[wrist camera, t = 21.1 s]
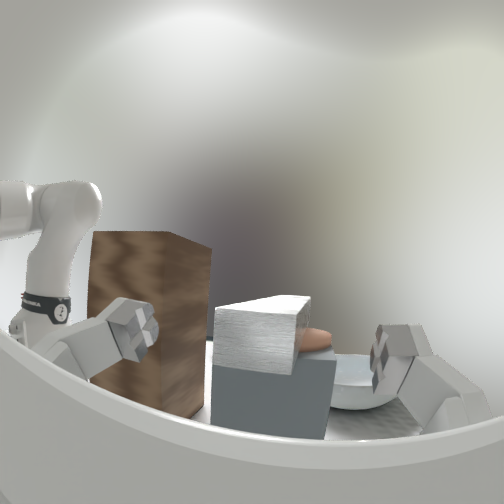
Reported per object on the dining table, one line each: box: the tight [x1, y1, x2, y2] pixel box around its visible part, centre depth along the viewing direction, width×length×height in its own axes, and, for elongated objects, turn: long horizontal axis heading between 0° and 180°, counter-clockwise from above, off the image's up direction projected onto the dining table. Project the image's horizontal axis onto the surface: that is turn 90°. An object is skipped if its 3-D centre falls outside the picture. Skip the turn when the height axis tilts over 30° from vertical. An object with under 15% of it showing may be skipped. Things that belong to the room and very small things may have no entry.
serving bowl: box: [330, 355, 397, 410], centre depth 43 cm, size 21×21×7 cm
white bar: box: [212, 295, 311, 375], centre depth 24 cm, size 4×24×3 cm, turn 166°
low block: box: [211, 328, 337, 440], centre depth 23 cm, size 9×12×17 cm
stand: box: [87, 231, 212, 419], centre depth 36 cm, size 12×14×26 cm
